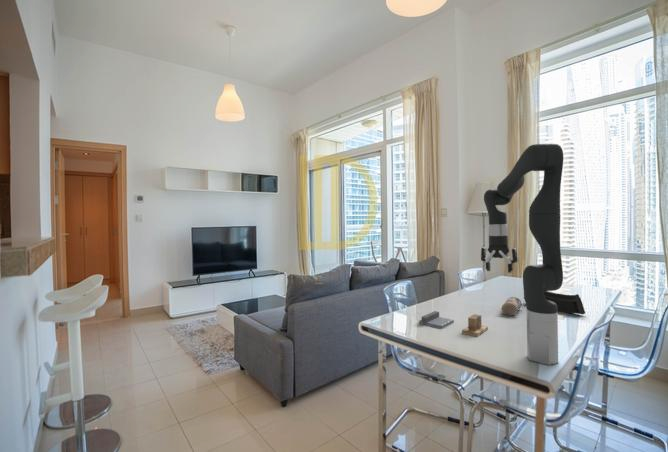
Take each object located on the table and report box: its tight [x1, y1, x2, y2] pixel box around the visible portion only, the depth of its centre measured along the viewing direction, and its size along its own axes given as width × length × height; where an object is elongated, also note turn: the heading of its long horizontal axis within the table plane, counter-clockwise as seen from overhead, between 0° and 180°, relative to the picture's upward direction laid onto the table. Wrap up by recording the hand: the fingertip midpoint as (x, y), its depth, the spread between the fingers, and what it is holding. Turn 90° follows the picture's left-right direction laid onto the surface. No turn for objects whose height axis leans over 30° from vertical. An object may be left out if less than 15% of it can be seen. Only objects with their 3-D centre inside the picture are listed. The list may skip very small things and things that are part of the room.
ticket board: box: [418, 310, 455, 329], centre depth 156 cm, size 13×12×4 cm
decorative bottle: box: [500, 296, 522, 317], centre depth 174 cm, size 26×8×7 cm, turn 143°
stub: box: [461, 313, 489, 337], centre depth 142 cm, size 12×7×7 cm, turn 135°
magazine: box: [544, 291, 586, 315], centre depth 173 cm, size 17×3×30 cm
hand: (499, 271), depth 141 cm, fingers open, 8 cm apart
